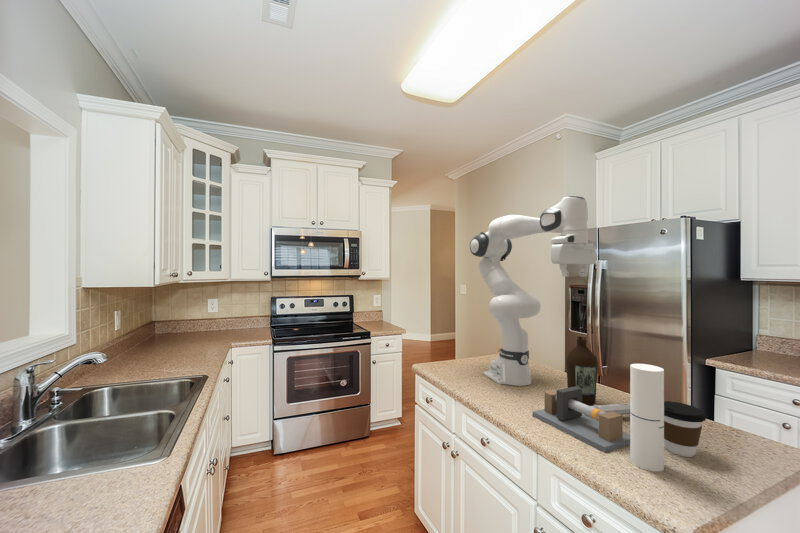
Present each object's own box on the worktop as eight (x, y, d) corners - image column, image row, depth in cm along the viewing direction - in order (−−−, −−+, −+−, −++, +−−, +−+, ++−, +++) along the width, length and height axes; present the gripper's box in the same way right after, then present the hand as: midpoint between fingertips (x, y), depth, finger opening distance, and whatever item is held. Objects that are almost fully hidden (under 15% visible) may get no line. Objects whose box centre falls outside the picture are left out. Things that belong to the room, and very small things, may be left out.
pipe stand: (532, 415, 118) (532, 392, 118) (561, 409, 124) (561, 386, 124) (604, 452, 95) (604, 423, 95) (636, 442, 101) (636, 414, 101)
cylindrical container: (624, 455, 93) (624, 363, 93) (651, 456, 93) (651, 363, 93) (642, 471, 86) (641, 371, 86) (671, 471, 86) (671, 371, 86)
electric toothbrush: (581, 404, 120) (652, 394, 120) (584, 423, 120) (655, 413, 120) (590, 410, 114) (664, 399, 115) (592, 430, 114) (667, 419, 115)
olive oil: (562, 395, 138) (562, 333, 138) (590, 397, 136) (590, 333, 136) (571, 406, 127) (571, 338, 127) (602, 407, 125) (602, 339, 126)
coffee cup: (686, 464, 89) (686, 418, 89) (645, 444, 100) (645, 402, 100) (716, 458, 92) (716, 413, 92) (673, 439, 103) (673, 398, 103)
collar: (556, 417, 112) (556, 390, 112) (575, 412, 116) (575, 386, 116) (562, 420, 110) (562, 392, 110) (582, 415, 114) (582, 388, 114)
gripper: (585, 240, 135) (585, 276, 135) (547, 238, 126) (547, 276, 126) (600, 239, 129) (600, 276, 129) (562, 237, 121) (562, 276, 121)
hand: (574, 276), depth 128 cm, fingers open, 8 cm apart
